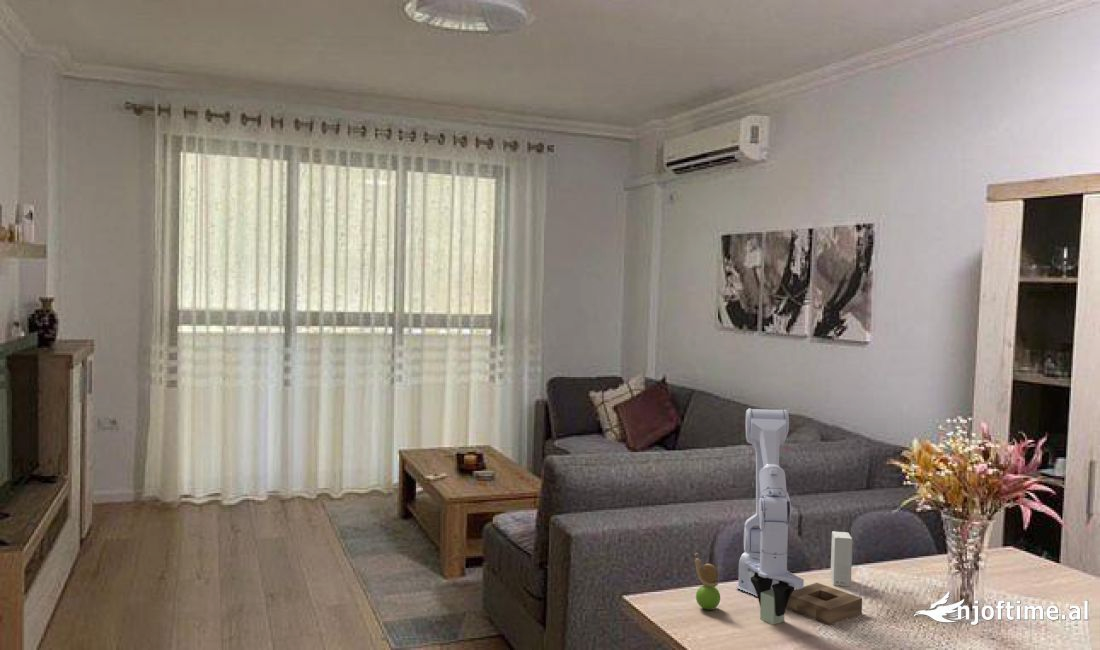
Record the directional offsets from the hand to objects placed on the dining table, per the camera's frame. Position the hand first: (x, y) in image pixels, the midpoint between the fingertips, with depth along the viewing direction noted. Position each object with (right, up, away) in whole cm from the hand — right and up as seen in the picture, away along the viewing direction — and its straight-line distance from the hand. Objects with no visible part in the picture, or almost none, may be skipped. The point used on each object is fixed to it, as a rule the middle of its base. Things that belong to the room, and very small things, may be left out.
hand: (772, 611), depth 179 cm
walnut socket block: (+13, -2, +6) cm, 14 cm away
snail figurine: (-13, -2, +6) cm, 15 cm away
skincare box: (+24, -2, +25) cm, 35 cm away
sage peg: (0, -2, 0) cm, 2 cm away
